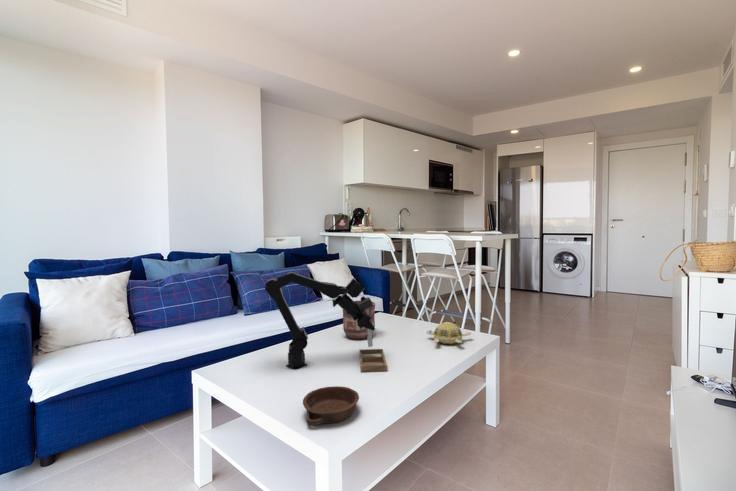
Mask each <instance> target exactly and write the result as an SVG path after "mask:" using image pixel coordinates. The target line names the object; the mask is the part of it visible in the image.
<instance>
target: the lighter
mask: <svg viewBox="0 0 736 491" xmlns="http://www.w3.org/2000/svg"><path fill="white" fill-rule="evenodd" d="M366 340H367V347H368V348H370V347H371V348H372V347H373V344H374V343H373V334H372V330H370V329H368V337H367V339H366Z"/></svg>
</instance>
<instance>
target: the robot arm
mask: <svg viewBox="0 0 736 491" xmlns="http://www.w3.org/2000/svg"><path fill="white" fill-rule="evenodd" d="M291 283H294V284H297V285H300V286H303V287H306V288H308V289H312V290H315V291H318V292H319V293H321V294H322V295H324V296H327V297H328V298H330V299H332V300H331V301H332V307H333V308H335V307H336V306H337V305H338V306H339V307H340V308H341V309H342V311H343V310H344V311H345V312H346V313H347V314H348V315H350V316H351V317H352V318H353V319H354V320H355V321H356V320H357V321H356V324H357V325H358V326H359V327H360V328H362V327H364V328H367V329H370V330H373V331H374V332H375V330H376V328H374V326H373V325H372V323H371V322H370V321H369V320H370V319H371V317H370V316H369V315H368V314H367V312H365V313H364V311H365V310H364V309H366V308H368V307H371V306H373V303H372V302H373V301H372V300H371V298H370V297H368V296H367V297H365V296H360V294H361V293H363V291H364V290H365V289H366V288H365V287H364V286H363V285H362V284H361V283H360V282H358V281H357V280H356V279H355V278H354V277H353V278H351V280H350V281H349V282H348V283H347V285H346V286H343V285H338V284H336V283H334V282H329V281H328V282H326V281H319V280H317V279H314V278H310V277H308V276H305V275H302V274H299V273H296V272H294V271H289V272H288V273H286V274H283V275H281V276H279V277H277V278H275V277H274V278H273V277H272V278H269V279H268V280H267V281H266V283H265V285H264V289H265V292H266V293H267V295H269V297H270V298H271V299H272V300H273V301H274V303H275V304H276V307H277V309H278V310H279V313H280V314H281V316H282V318H283V320H284V322H285V324H286V327H287V328H288V330H289V332H290V336H291V340H292V341H291V342H290V343H289V344H288V352H287V364H285V367H287V368H289V369H293V370H298V369H300V368H303V367H306V366H308V363H306V356H305V355H306V354H305V350H304V349H306V348H307V346H308V339H309V337H308V333H307V332H306V331H305V327H304V326H302V327H300V326H299V325H298V323H297V321H296V319H295V317H294V314H293V313H292V311H291V309H290V307H289V305H288V303H287V301H286V298H285V296H284V293H283V290H282V288H284V287H285V286H287V285H289V284H291ZM358 296H360V301H359V300H358V301H359V302H358V303H356V302H354V301H355V300H353V299H354V298H358Z"/></svg>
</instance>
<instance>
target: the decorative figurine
mask: <svg viewBox="0 0 736 491" xmlns="http://www.w3.org/2000/svg"><path fill="white" fill-rule="evenodd" d="M425 333H426V334H427V335H430V336H433V338H434V340H433V343H435V344H439V343H440V344H444V345H455V344H460V343H463V341H462V339H463V337H466V336H470V335H472V332H470V331H469V332H465V333H462V330H461V328H460V327H459V326H458V325H457V324H456V323H453V322H450V321H445V322H441V323H440V324H438V325H437V326H436V327H435V329H434V331H433V330H430V329H428V330H427V331H425Z"/></svg>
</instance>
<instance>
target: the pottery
mask: <svg viewBox="0 0 736 491" xmlns="http://www.w3.org/2000/svg"><path fill="white" fill-rule="evenodd" d="M353 301H354V302H356V303H358V302H359V301H361V299H359V300H353ZM372 303H373V306H371V307H368V308H366V309H364V310H365V311H364V313H365V312H367V314H368V315H369V316H370V317H371V319H370V320H369V321H370V322H371V323H372V325H373V326H374V328H375V327H376V321H375V320H376V319H375V315H376V314H375V311H376V310H375V309H376V302H375V301H372ZM342 321H343V322H342V326H343V327H342V329H343V333H344V334H345V336H346V337H347V338H348V339H350V340H355V341H362V340H368V339H367V337H368V329H367V328H364V327H362V328H360V327H359V326H358V325H357V324H356V321H357V320H356V321H355V320H354V319H353V318H352V317H351V316H350V315H348V314H347V313H346V312H345V311H344V310H343V309H342ZM375 329H376V328H375ZM374 332H375V330H374V331H373V330H372V335H373V334H374Z"/></svg>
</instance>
